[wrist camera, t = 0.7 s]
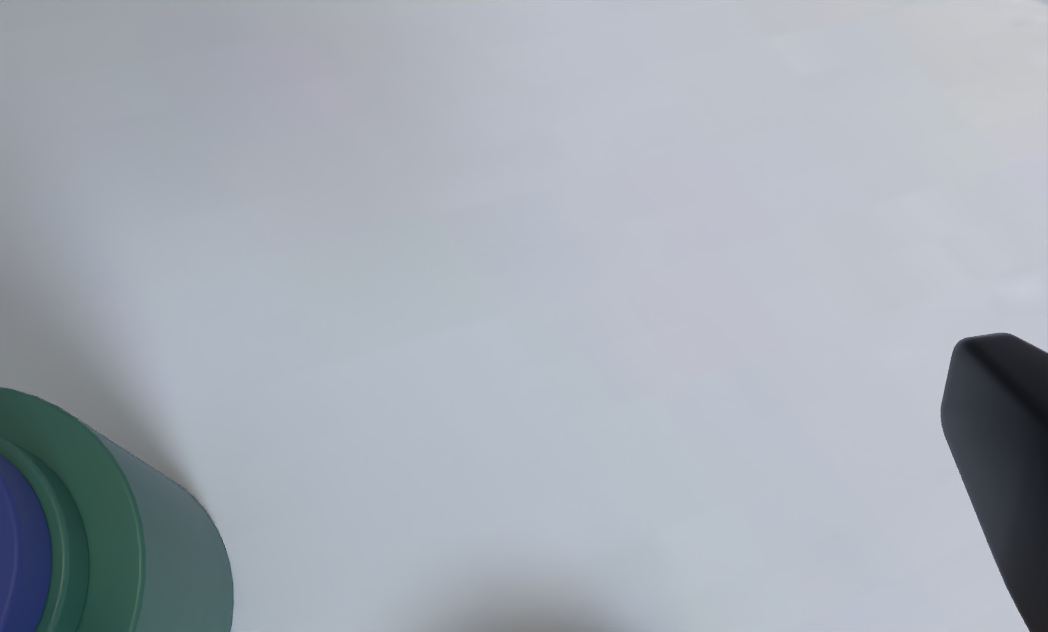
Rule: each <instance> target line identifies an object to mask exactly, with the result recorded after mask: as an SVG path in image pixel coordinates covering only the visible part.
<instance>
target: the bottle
mask: <svg viewBox="0 0 1048 632" xmlns="http://www.w3.org/2000/svg"><path fill="white" fill-rule="evenodd" d="M232 613H233V581H232V574H231V568H230V563H229V559H228V556H227V552H226V549H225V546H224V543H223V541H222V539H221V537H220V534H219V532H218V530H217V528H216V526H215V525H214V523H213V522H212V520H211V518H210V517H209V515H208V514H207V512H206V511H205V510H204V509H203V507H202V506H201V505H200V504H199V503H198V502H197V500H196V499H195V498H194V497H193V496H192V495H190V494H189V493H188V492H187V491H186V490H185V489H184V488H182V487H181V486H180V485H179V484H177V483H175V482H174V481H172V480H171V479H169V478H168V477H166V476H165V475H163V474H162V473H160V472H159V471H157V470H155V469H154V468H152V467H151V466H149V465H148V464H146V463H145V462H143V461H142V460H140V459H138V458H137V457H135V456H134V455H132V454H131V453H129V452H128V451H126V450H125V449H123V448H122V447H120V446H118V445H117V444H115V443H114V442H112V441H111V440H109V439H108V438H106V437H105V436H103V435H102V434H100V433H98V432H97V431H95V430H94V429H92V428H91V427H89V426H88V425H86V424H85V423H83V422H81V421H80V420H78V419H77V418H75V417H74V416H72V415H71V414H69V413H67V412H66V411H64V410H63V409H61V408H60V407H58V406H56V405H54V404H52V403H49V402H47V401H45V400H43V399H41V398H38V397H36V396H33V395H30V394H26V393H23V392H20V391H16V390H13V389H8V388H2V387H0V632H230V629H231V622H232Z"/></svg>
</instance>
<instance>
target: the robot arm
mask: <svg viewBox="0 0 1048 632" xmlns="http://www.w3.org/2000/svg"><path fill="white" fill-rule="evenodd" d="M941 423H942V428H943V432H944V435H945V438H946V440H947V443H948V445H949V448H950V450H951V453H952V455H953V458H954V460H955V463H956V465H957V468H958V470H959V473H960V475H961V477H962V480H963V482H964V485H965V487H966V490H967V492H968V495H969V497H970V500H971V502H972V505H973V507H974V510H975V512H976V515H977V517H978V520H979V522H980V525H981V527H982V530H983V532H984V535H985V537H986V540H987V542H988V545H989V547H990V550H991V552H992V555H993V557H994V560H995V562H996V564H997V567H998V569H999V571H1000V573H1001V576H1002V578H1003V580H1004V583H1005V585H1006V587H1007V589H1008V591H1009V593H1010V595H1011V597H1012V599H1013V601H1014V603H1015V605H1016V607H1017V609H1018V611H1019V613H1020V614H1021V616H1022V618H1023V620H1024V622H1025V624H1026V626H1027V627H1028V629H1029V631H1030V632H1048V353H1047V352H1045V351H1043V350H1041V349H1039V348H1037V347H1035V346H1033V345H1032V344H1030V343H1028V342H1026V341H1024V340H1022V339H1020V338H1018V337H1016V336H1014V335H1011V334H1008V333H994V334H988V335H981V336H974V337H968V338H964V339H962V340H960V341H959V342H958V343H957V344H956V346H955V347H954V350H953V353H952V357H951V361H950V366H949V371H948V376H947V380H946V385H945V390H944V394H943V399H942V404H941Z"/></svg>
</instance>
